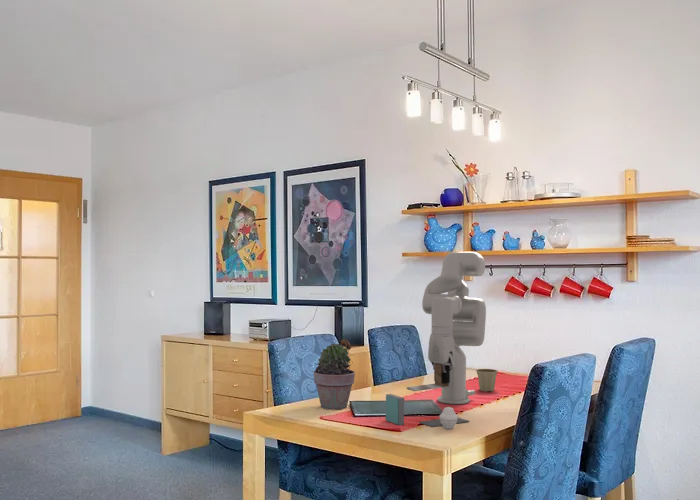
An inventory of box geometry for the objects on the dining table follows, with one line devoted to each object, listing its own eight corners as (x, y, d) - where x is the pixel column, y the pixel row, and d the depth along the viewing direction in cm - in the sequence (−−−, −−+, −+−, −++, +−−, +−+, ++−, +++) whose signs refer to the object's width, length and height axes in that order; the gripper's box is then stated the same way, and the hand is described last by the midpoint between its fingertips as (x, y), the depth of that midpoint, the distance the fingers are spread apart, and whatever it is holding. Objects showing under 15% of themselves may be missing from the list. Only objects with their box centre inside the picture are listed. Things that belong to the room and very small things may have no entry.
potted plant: (299, 410, 252) (300, 342, 253) (320, 400, 271) (321, 337, 271) (346, 414, 246) (346, 344, 246) (363, 404, 264) (364, 339, 265)
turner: (441, 384, 249) (441, 362, 249) (449, 386, 245) (449, 364, 245) (406, 389, 241) (406, 366, 241) (414, 391, 237) (414, 368, 237)
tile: (390, 419, 239) (390, 393, 239) (403, 424, 232) (404, 397, 232) (385, 420, 238) (385, 394, 238) (398, 425, 231) (398, 398, 231)
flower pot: (475, 392, 293) (475, 371, 293) (475, 388, 302) (475, 368, 302) (498, 392, 291) (498, 372, 292) (497, 388, 301) (497, 369, 301)
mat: (455, 417, 243) (455, 416, 243) (468, 422, 237) (468, 420, 237) (419, 422, 235) (419, 421, 235) (431, 427, 229) (431, 426, 229)
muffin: (445, 430, 224) (445, 409, 224) (435, 426, 230) (435, 405, 230) (461, 429, 227) (461, 407, 227) (451, 425, 232) (451, 404, 232)
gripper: (419, 329, 251) (419, 379, 252) (448, 334, 237) (448, 387, 237) (436, 327, 255) (436, 377, 255) (465, 333, 241) (465, 385, 241)
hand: (441, 381), depth 246 cm, fingers closed on turner, 3 cm apart
